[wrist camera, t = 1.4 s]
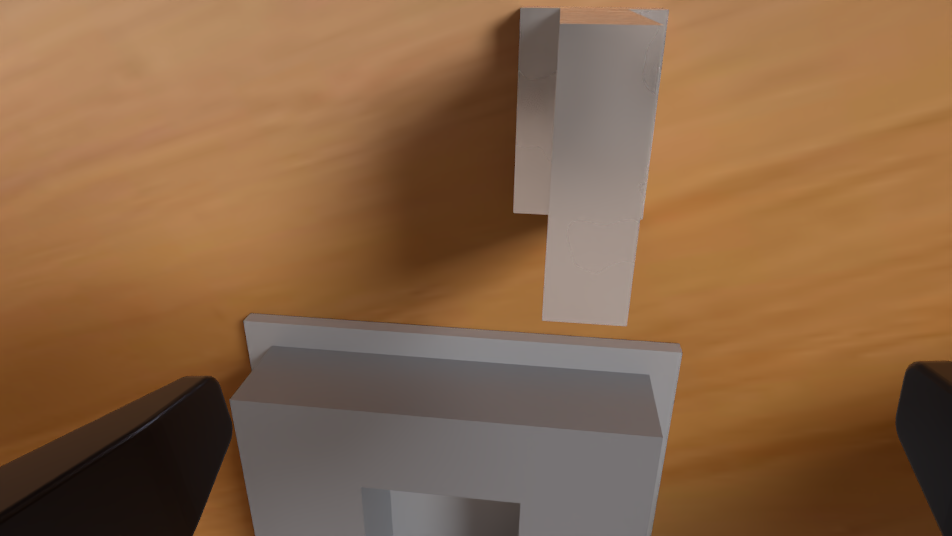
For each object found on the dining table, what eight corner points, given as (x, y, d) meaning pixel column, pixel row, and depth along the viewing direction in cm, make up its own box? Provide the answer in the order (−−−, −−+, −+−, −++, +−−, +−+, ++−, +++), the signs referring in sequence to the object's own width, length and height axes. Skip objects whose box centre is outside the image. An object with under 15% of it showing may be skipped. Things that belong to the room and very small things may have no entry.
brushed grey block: (662, 7, 18) (730, 25, 11) (638, 206, 20) (679, 329, 13) (522, 6, 18) (497, 22, 11) (515, 200, 21) (491, 316, 14)
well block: (679, 343, 22) (701, 414, 19) (629, 640, 29) (639, 734, 25) (250, 313, 24) (195, 372, 20) (296, 599, 31) (261, 682, 27)
